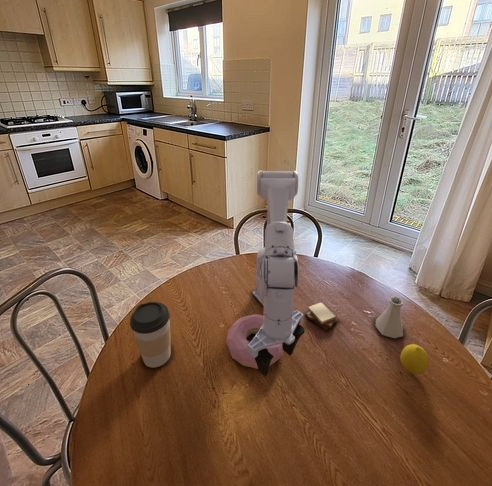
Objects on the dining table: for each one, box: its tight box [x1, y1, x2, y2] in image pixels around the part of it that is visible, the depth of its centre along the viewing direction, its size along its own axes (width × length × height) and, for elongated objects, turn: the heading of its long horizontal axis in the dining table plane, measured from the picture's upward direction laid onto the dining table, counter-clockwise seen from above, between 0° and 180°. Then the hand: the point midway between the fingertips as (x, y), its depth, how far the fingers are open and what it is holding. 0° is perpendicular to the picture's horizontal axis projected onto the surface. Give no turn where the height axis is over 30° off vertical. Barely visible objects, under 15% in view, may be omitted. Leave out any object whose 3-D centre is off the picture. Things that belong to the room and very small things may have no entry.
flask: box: [375, 296, 404, 339], centre depth 80 cm, size 7×7×10 cm
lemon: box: [400, 343, 429, 376], centre depth 68 cm, size 6×6×8 cm
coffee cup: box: [129, 301, 172, 369], centre depth 71 cm, size 9×9×15 cm
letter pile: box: [305, 301, 338, 331], centre depth 84 cm, size 8×7×2 cm
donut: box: [226, 313, 285, 370], centre depth 76 cm, size 16×15×5 cm
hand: (275, 361), depth 62 cm, fingers open, 7 cm apart
